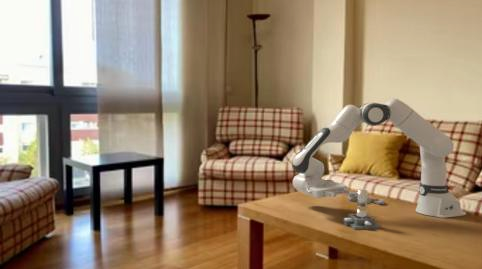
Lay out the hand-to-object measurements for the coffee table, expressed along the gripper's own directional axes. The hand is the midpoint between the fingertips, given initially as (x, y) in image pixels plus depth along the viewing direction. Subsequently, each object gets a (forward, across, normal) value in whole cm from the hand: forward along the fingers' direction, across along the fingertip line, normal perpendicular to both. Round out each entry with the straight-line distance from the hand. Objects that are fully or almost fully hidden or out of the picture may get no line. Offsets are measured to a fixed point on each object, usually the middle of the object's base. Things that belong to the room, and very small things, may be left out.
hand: (341, 193), depth 189 cm
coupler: (+11, 0, +10) cm, 15 cm away
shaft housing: (+11, 0, +11) cm, 16 cm away
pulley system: (-17, +35, +12) cm, 41 cm away
